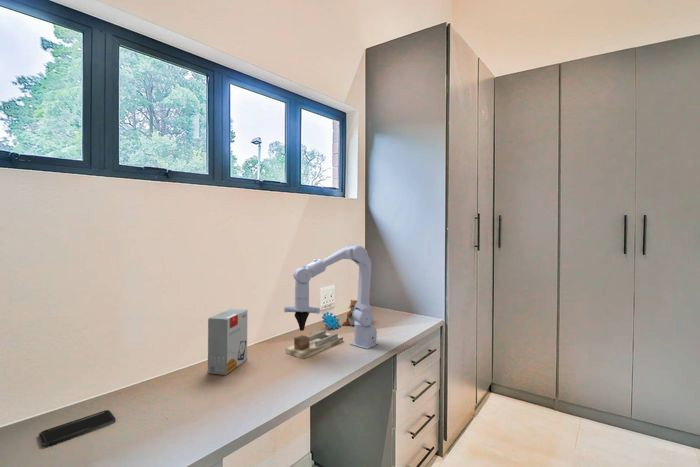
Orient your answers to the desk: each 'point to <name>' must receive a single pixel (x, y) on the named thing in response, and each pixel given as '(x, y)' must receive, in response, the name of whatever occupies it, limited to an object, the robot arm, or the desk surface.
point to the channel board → (316, 344)
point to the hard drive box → (227, 341)
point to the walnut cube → (301, 342)
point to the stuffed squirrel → (350, 314)
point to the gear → (330, 320)
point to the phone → (76, 428)
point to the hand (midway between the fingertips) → (302, 329)
